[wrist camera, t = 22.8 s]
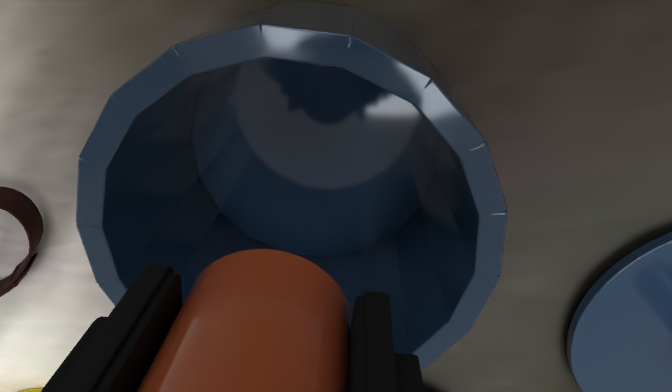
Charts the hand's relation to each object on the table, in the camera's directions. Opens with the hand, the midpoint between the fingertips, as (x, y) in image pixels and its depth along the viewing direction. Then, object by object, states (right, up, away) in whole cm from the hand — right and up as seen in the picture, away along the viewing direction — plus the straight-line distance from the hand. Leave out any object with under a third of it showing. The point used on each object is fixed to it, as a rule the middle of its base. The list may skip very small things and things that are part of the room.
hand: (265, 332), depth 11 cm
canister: (+1, +5, +10) cm, 12 cm away
